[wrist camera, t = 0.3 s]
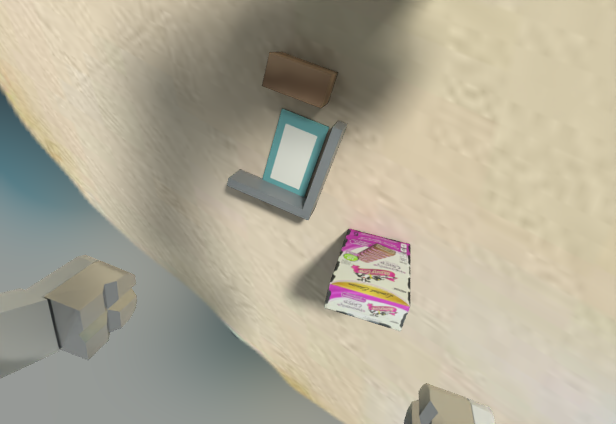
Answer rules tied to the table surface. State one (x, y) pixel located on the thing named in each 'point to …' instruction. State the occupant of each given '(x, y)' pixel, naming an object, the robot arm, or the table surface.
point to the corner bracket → (293, 165)
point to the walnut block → (299, 79)
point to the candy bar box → (371, 280)
